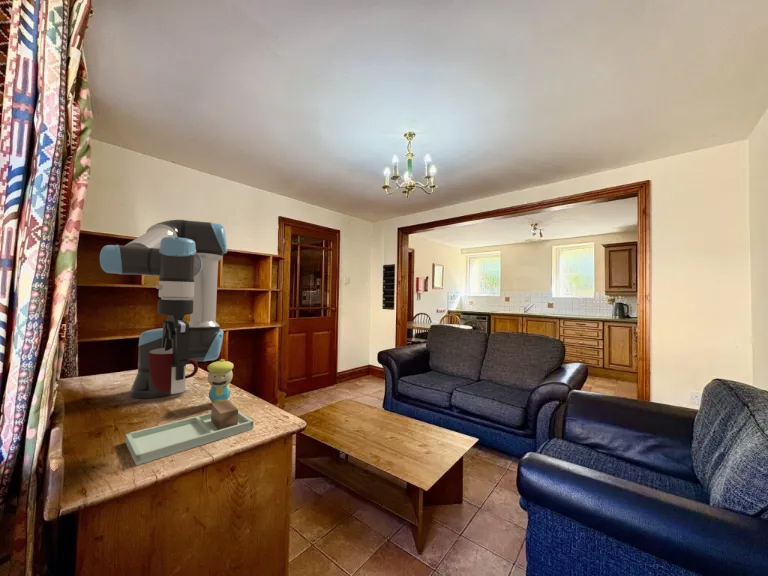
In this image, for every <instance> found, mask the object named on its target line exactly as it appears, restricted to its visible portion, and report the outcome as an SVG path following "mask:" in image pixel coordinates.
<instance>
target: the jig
mask: <svg viewBox="0 0 768 576" xmlns="http://www.w3.org/2000/svg"><path fill="white" fill-rule="evenodd" d="M253 429H254V420H253V419H251V418H250V417H249V416H247V415H246V414H244V413H243V412H241V411H240V410H238V425H234V426H231V427H228V428H224V429H221V430H218V429H217V428H216V427H215V425H214V424H213V423H212V421H211V412H209V413H204V414H200V415H196V416H191V417H188V418H183V419H180V420H177V421H171V422H168V423H164V424H159V425H156V426H152V427H148V428H143V429H139V430H135V431H132V432H127V433H125V445H126V446H127V449H128V451H129V453H130V455H131V457H132V459H133V462H134V464H135V467H137V466H139V465H143V464H145V463H149V462H153V461H155V460H160V459H162V458H165V457H168V456H172V455H175V454H179V453H181V452H183V451H188V450H190V449H194V448H197V447H200V446H204V445H206V444H210V443H213V442H216V441H219V440H223V439H226V438H229V437H231V436H235V435H239V434H241V433H245V432H248V431H251V430H253Z"/></svg>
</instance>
